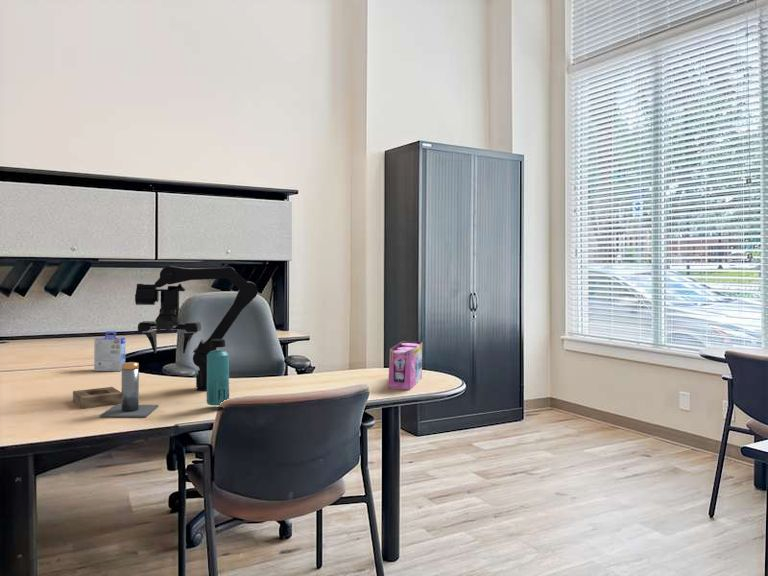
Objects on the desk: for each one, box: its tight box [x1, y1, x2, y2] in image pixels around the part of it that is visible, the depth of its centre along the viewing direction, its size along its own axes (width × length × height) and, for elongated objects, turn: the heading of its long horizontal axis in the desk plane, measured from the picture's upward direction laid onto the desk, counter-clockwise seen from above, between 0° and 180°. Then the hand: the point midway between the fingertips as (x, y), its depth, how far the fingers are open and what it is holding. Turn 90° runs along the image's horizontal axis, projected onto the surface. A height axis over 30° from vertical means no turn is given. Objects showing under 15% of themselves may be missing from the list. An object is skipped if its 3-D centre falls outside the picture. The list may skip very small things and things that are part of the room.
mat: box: [99, 404, 159, 419], centre depth 172 cm, size 12×12×1 cm
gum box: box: [387, 340, 423, 391], centre depth 219 cm, size 24×8×14 cm, turn 166°
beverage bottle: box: [205, 338, 231, 406], centre depth 178 cm, size 6×7×20 cm
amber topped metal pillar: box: [121, 361, 140, 412], centre depth 172 cm, size 4×4×13 cm
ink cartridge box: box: [93, 330, 126, 372], centre depth 233 cm, size 10×6×14 cm, turn 96°
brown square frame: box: [72, 386, 122, 409], centre depth 183 cm, size 11×11×3 cm
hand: (169, 353), depth 201 cm, fingers open, 9 cm apart
